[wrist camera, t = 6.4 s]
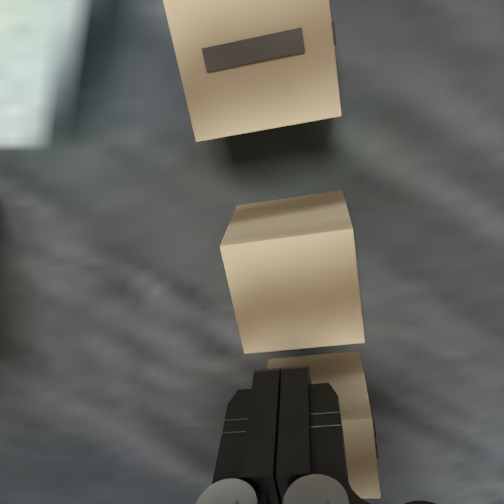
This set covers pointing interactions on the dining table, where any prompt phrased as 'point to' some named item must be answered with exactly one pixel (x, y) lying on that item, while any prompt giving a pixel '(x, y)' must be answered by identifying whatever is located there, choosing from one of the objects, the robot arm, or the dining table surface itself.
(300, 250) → the plain block
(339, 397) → the light wooden cube
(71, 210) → the dining table surface
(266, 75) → the digit one block
